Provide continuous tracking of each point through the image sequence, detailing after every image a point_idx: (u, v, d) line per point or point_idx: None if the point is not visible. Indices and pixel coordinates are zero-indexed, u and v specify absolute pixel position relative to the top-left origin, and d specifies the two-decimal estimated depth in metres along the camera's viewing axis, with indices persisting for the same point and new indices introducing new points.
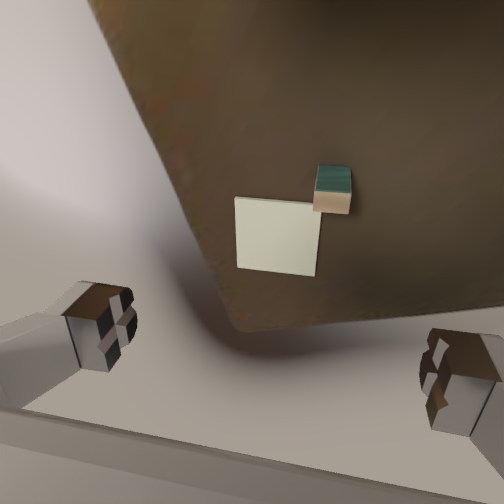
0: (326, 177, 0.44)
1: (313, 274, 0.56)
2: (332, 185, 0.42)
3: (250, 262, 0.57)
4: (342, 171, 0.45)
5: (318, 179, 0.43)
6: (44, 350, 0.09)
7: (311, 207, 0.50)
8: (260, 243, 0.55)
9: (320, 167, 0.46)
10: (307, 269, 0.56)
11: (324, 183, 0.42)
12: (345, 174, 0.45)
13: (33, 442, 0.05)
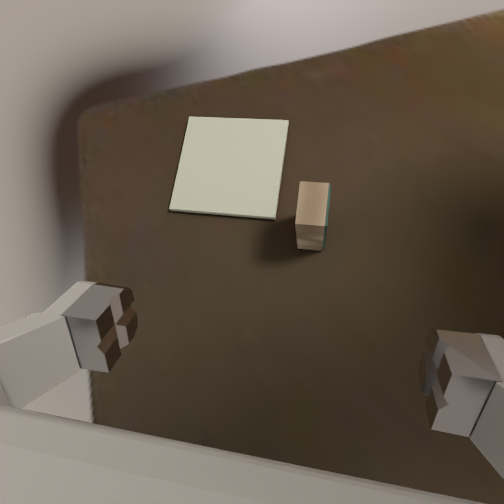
0: None
1: (172, 207, 0.42)
2: None
3: (195, 131, 0.44)
4: None
5: None
6: (44, 350, 0.09)
7: (273, 205, 0.40)
8: (224, 145, 0.43)
9: None
10: (180, 200, 0.42)
11: None
12: None
13: (33, 442, 0.05)
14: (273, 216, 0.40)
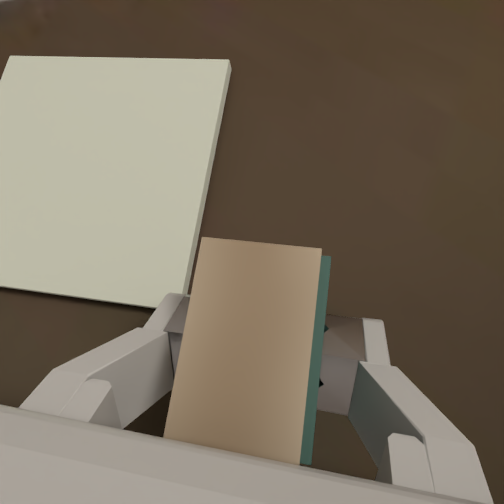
0: None
1: None
2: None
3: (18, 89, 0.19)
4: None
5: None
6: (147, 368, 0.08)
7: (176, 275, 0.15)
8: (75, 118, 0.18)
9: None
10: None
11: None
12: None
13: (33, 442, 0.05)
14: None
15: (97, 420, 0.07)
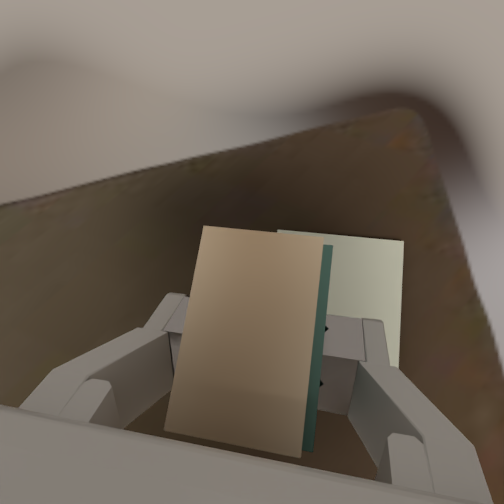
0: None
1: (278, 232, 0.37)
2: None
3: (380, 251, 0.35)
4: None
5: None
6: (147, 368, 0.08)
7: None
8: (360, 288, 0.34)
9: None
10: None
11: None
12: None
13: (33, 442, 0.05)
14: None
15: (97, 420, 0.07)
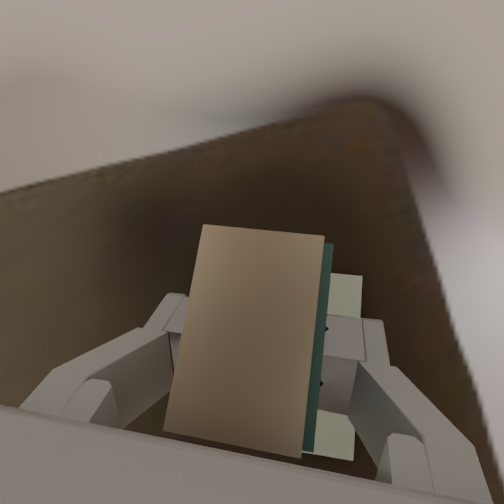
0: None
1: None
2: None
3: (332, 289, 0.27)
4: None
5: None
6: (147, 368, 0.08)
7: None
8: None
9: None
10: None
11: None
12: None
13: (33, 443, 0.05)
14: None
15: (97, 420, 0.07)
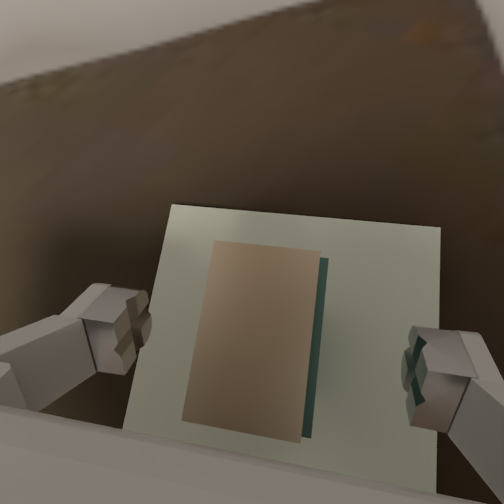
0: None
1: (173, 211, 0.18)
2: None
3: (388, 250, 0.16)
4: None
5: None
6: (61, 353, 0.09)
7: None
8: (342, 335, 0.15)
9: None
10: (189, 229, 0.17)
11: None
12: None
13: (33, 442, 0.05)
14: None
15: None
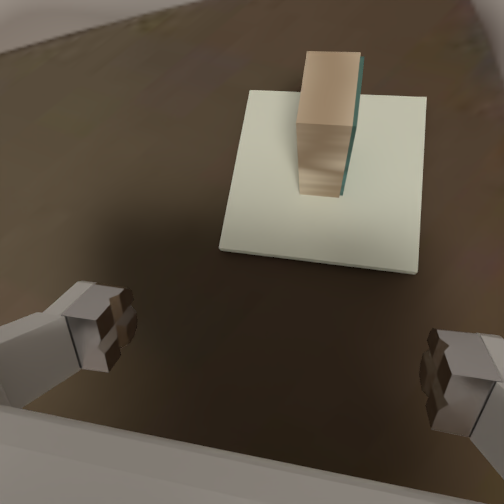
0: None
1: (251, 94, 0.27)
2: None
3: (392, 111, 0.25)
4: None
5: None
6: (44, 350, 0.09)
7: (240, 244, 0.24)
8: (363, 159, 0.24)
9: None
10: (262, 104, 0.26)
11: None
12: None
13: (33, 442, 0.05)
14: (220, 245, 0.24)
15: None
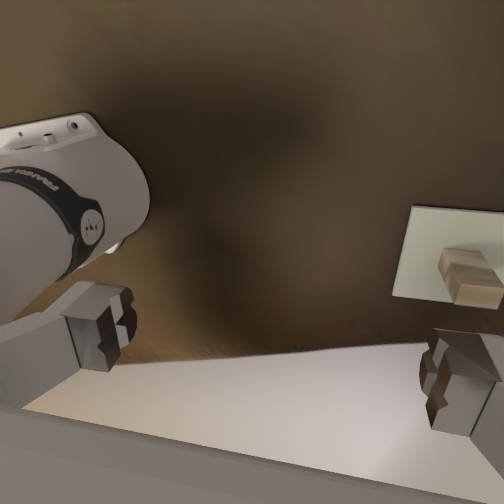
0: None
1: None
2: None
3: None
4: None
5: None
6: (44, 350, 0.09)
7: (414, 219, 0.42)
8: None
9: None
10: None
11: None
12: None
13: (33, 442, 0.05)
14: (414, 208, 0.41)
15: None
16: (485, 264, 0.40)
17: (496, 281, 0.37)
